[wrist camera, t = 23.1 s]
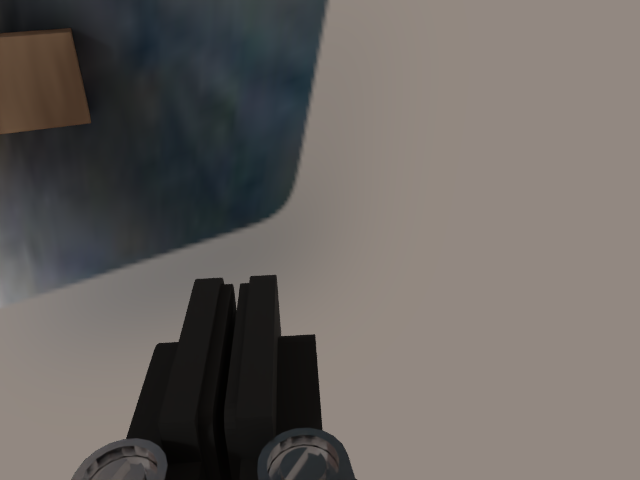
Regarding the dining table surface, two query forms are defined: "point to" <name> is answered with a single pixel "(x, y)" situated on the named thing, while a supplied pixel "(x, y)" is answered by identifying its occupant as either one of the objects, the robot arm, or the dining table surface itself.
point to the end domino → (40, 81)
